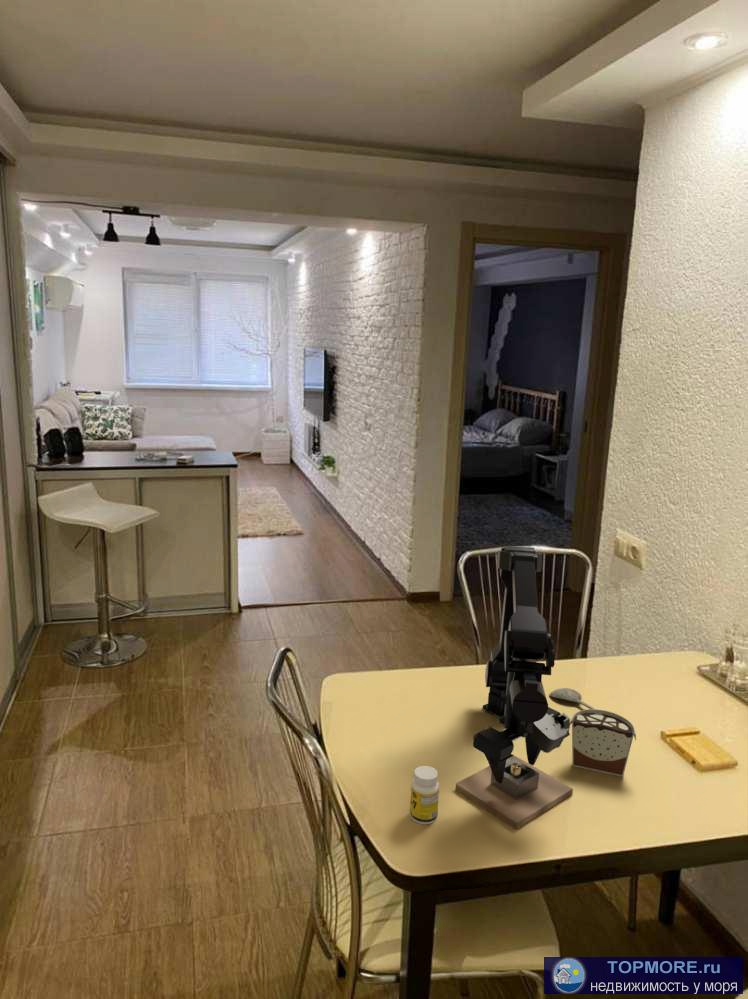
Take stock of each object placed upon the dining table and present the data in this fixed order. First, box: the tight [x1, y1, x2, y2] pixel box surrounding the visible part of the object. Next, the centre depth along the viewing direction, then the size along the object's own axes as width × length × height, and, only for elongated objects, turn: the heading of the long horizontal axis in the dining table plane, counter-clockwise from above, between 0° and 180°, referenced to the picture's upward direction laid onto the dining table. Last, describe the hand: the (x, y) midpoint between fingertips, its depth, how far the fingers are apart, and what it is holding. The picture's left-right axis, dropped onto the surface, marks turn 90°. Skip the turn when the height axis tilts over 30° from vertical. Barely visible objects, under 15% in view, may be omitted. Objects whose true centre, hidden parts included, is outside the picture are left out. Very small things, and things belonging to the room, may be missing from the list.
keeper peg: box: [510, 763, 521, 779], centre depth 131 cm, size 3×3×4 cm
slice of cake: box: [570, 708, 637, 777], centre depth 141 cm, size 12×6×10 cm, turn 71°
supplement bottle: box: [409, 765, 440, 825], centre depth 123 cm, size 5×5×8 cm
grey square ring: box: [491, 758, 539, 800], centre depth 131 cm, size 6×6×3 cm
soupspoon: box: [548, 687, 595, 709], centre depth 162 cm, size 22×3×7 cm
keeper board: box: [455, 753, 574, 830], centre depth 132 cm, size 16×14×1 cm
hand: (515, 772), depth 131 cm, fingers open, 9 cm apart
